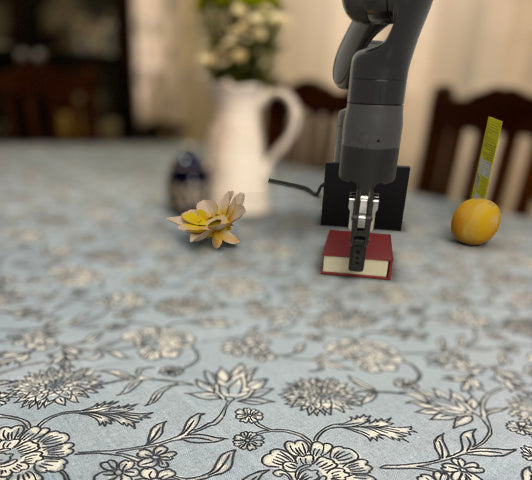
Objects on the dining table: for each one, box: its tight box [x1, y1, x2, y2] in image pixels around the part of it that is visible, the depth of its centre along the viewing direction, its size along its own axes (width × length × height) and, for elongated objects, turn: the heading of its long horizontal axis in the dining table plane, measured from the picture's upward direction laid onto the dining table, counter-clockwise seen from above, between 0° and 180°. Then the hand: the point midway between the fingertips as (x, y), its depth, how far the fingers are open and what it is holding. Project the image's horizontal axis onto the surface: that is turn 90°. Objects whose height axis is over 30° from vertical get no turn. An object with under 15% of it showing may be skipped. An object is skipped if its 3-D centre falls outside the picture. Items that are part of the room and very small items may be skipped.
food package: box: [470, 116, 503, 199], centre depth 109 cm, size 15×1×20 cm, turn 168°
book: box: [320, 229, 394, 281], centre depth 84 cm, size 14×10×3 cm
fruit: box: [450, 198, 502, 246], centre depth 95 cm, size 9×8×8 cm
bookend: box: [320, 160, 411, 232], centre depth 104 cm, size 7×16×12 cm, turn 80°
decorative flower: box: [165, 190, 247, 250], centre depth 91 cm, size 15×11×10 cm
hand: (355, 269), depth 75 cm, fingers closed
